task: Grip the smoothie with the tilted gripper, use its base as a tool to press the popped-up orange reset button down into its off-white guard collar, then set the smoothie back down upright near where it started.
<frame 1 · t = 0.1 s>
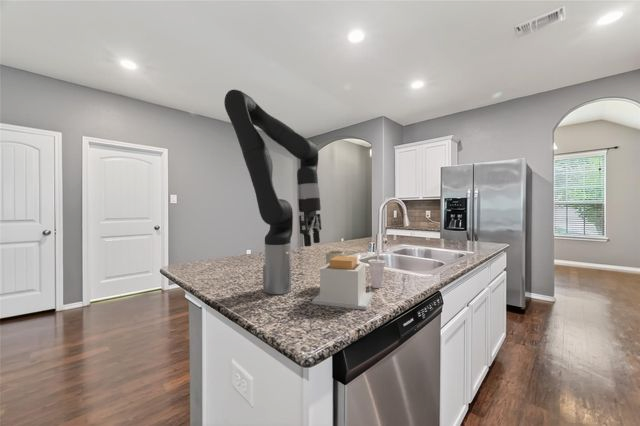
hand: (312, 244, 94), 17 cm above the countertop, tool pointing down, fingers open, 8 cm apart
reset button: (343, 269, 89), point 10 cm above the countertop, slide at 0.0 cm
character mug: (335, 286, 104), on the countertop
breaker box: (343, 299, 89), on the countertop
smoothie: (376, 287, 103), on the countertop
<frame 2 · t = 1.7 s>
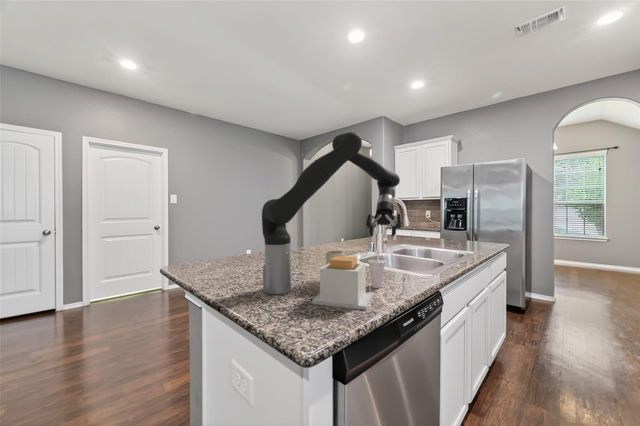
hand: (382, 235, 112), 18 cm above the countertop, tool tilted 45°, fingers open, 8 cm apart
nothing on the countertop moved.
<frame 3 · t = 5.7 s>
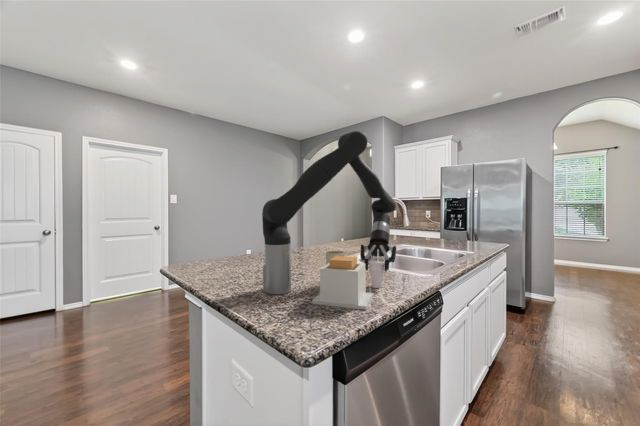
hand: (376, 269, 101), 7 cm above the countertop, tool tilted 45°, fingers closed on smoothie, 6 cm apart
smoothie: (376, 287, 103), on the countertop, touching gripper
everything else where it was.
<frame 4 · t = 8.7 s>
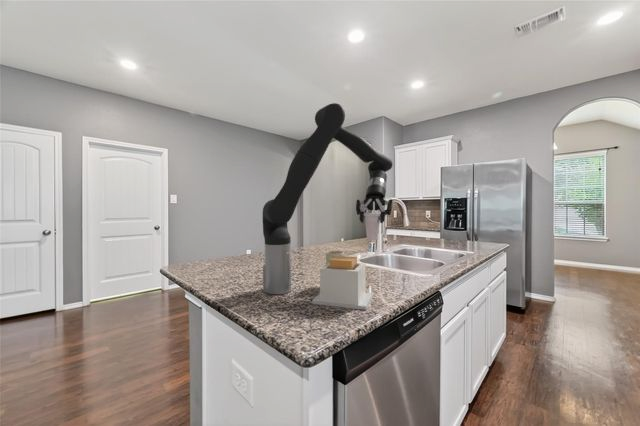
hand: (371, 221, 99), 25 cm above the countertop, tool tilted 45°, fingers closed on smoothie, 6 cm apart
smoothie: (372, 239, 101), point 18 cm above the countertop, touching gripper
everything else where it was.
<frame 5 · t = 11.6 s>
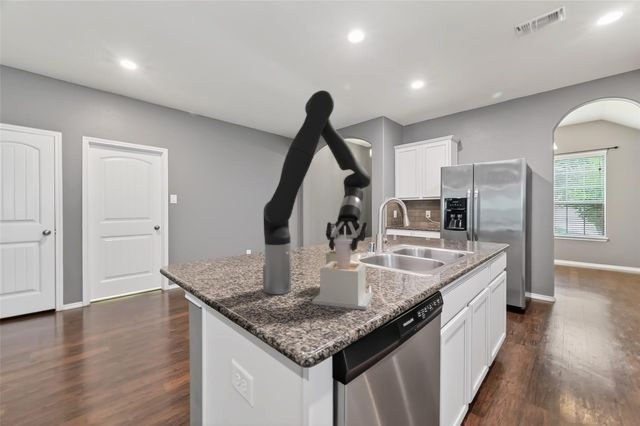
hand: (342, 249, 87), 17 cm above the countertop, tool tilted 45°, fingers closed on smoothie, 6 cm apart
reset button: (343, 280, 89), point 6 cm above the countertop, slide at -3.5 cm, touching smoothie
smoothie: (343, 269, 89), point 10 cm above the countertop, touching gripper, reset button
everything else where it was.
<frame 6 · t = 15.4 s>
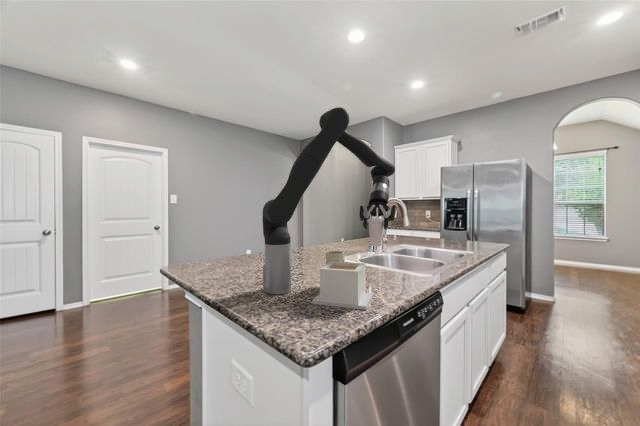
hand: (375, 227, 100), 22 cm above the countertop, tool tilted 45°, fingers closed on smoothie, 6 cm apart
reset button: (343, 280, 89), point 6 cm above the countertop, slide at -3.6 cm
smoothie: (376, 245, 102), point 15 cm above the countertop, touching gripper
everything else where it was.
when the fingers open (8 cm above the countertop, at t = 18.4 s): smoothie drops 1 cm, on the countertop.
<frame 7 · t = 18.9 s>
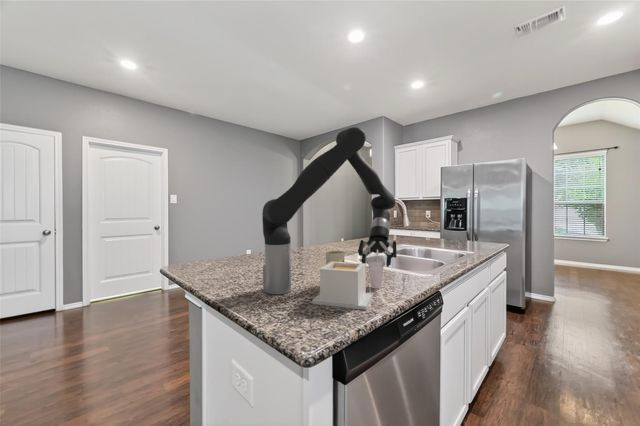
hand: (375, 264, 101), 9 cm above the countertop, tool tilted 45°, fingers open, 8 cm apart
smoothie: (376, 287, 102), on the countertop
everything else where it was.
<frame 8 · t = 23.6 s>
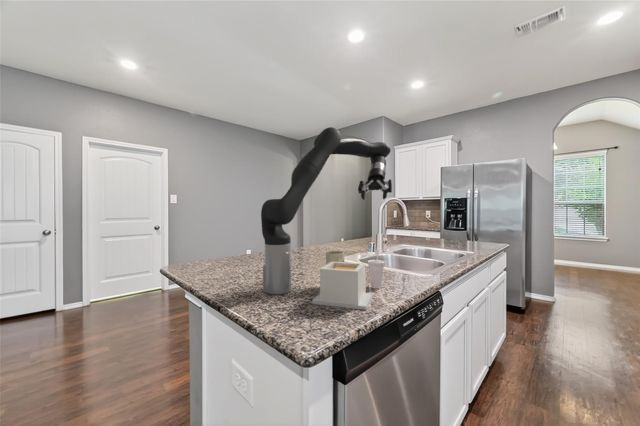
hand: (373, 198, 115), 34 cm above the countertop, tool tilted 45°, fingers open, 8 cm apart
nothing on the countertop moved.
at the end: reset button slide at -3.6 cm; smoothie tilted 0°; smoothie inside the target area (0.4 cm from its centre), on the countertop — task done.
